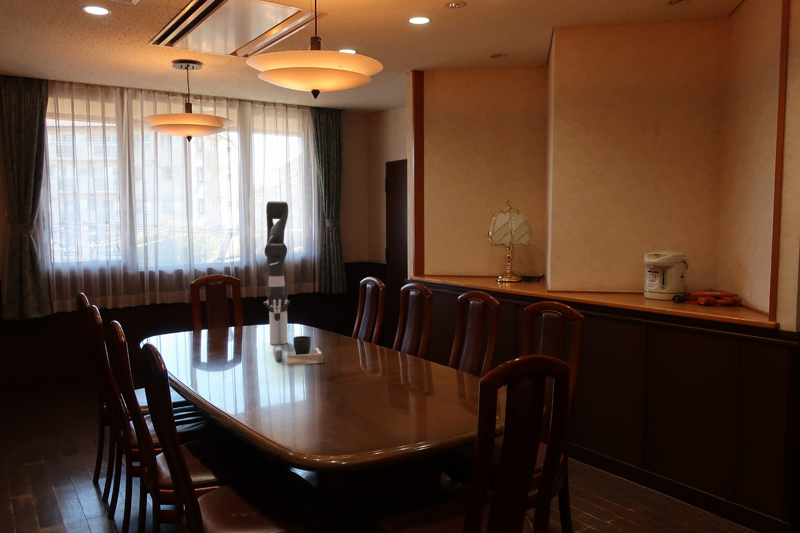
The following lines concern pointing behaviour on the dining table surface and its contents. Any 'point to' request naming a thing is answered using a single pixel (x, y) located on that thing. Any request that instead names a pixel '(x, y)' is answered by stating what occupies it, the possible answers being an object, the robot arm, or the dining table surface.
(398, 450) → the dining table surface
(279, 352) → the hinge post
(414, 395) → the dining table surface
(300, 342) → the mug
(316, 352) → the seat frame
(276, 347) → the leg
